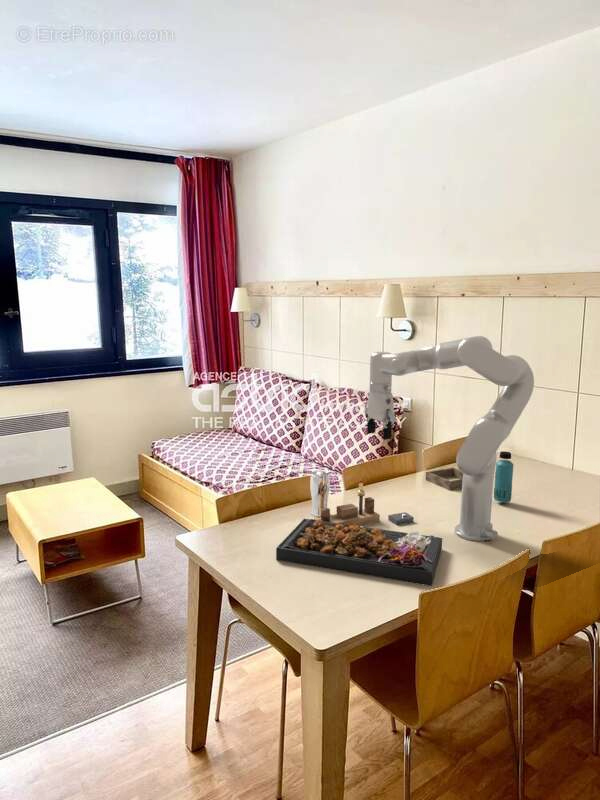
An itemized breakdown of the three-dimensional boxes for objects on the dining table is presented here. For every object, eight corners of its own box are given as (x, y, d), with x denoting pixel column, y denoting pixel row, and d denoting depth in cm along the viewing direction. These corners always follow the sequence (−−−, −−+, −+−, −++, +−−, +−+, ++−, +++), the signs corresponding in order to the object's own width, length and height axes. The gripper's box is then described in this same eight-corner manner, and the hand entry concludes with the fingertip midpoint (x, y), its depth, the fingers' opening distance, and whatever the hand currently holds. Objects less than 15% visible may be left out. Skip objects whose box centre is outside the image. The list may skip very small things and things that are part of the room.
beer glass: (327, 518, 204) (328, 477, 201) (308, 516, 205) (308, 475, 202) (330, 511, 210) (331, 471, 208) (311, 509, 212) (312, 470, 209)
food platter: (441, 551, 179) (443, 519, 177) (431, 588, 156) (433, 552, 155) (303, 531, 194) (304, 501, 192) (276, 561, 171) (276, 528, 170)
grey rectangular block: (413, 523, 201) (413, 516, 200) (396, 526, 198) (396, 519, 198) (405, 518, 205) (405, 511, 205) (388, 521, 203) (388, 514, 202)
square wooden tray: (477, 485, 241) (478, 476, 240) (449, 490, 234) (450, 481, 233) (452, 475, 254) (453, 467, 253) (425, 479, 247) (425, 471, 247)
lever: (357, 496, 199) (357, 492, 198) (357, 487, 208) (357, 483, 208) (364, 496, 199) (364, 492, 198) (364, 487, 208) (364, 483, 208)
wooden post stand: (379, 521, 201) (380, 496, 199) (323, 532, 191) (324, 506, 189) (368, 514, 207) (368, 490, 205) (313, 525, 197) (314, 500, 196)
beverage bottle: (508, 500, 222) (512, 450, 219) (513, 506, 216) (517, 454, 212) (491, 500, 223) (494, 449, 220) (495, 506, 217) (498, 454, 213)
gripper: (404, 390, 195) (402, 440, 198) (375, 383, 211) (373, 430, 214) (386, 392, 192) (384, 442, 195) (357, 385, 207) (356, 432, 210)
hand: (379, 436), depth 204 cm, fingers open, 9 cm apart
